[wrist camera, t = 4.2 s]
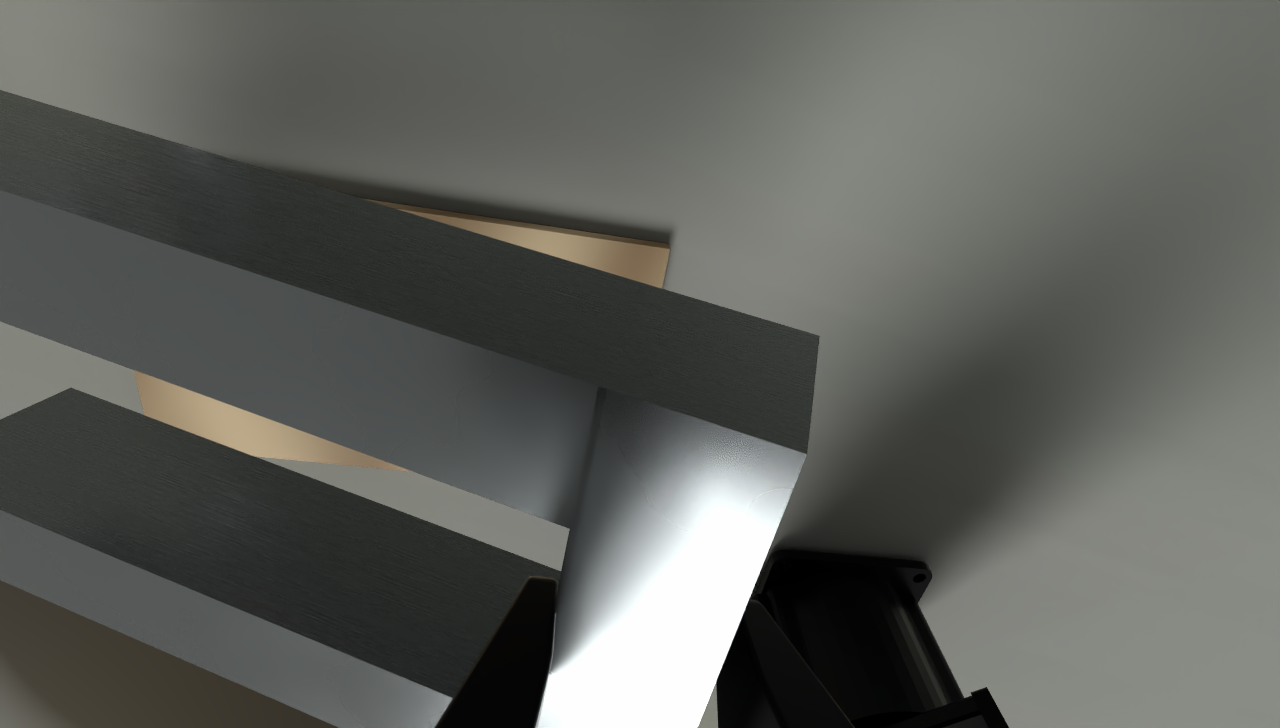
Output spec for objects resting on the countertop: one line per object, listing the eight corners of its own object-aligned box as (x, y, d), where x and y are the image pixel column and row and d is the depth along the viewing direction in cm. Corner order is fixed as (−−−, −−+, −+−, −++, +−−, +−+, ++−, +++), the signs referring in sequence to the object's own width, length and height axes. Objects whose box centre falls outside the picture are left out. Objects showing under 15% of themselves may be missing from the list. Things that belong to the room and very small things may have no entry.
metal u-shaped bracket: (819, 335, 9) (806, 454, 7) (685, 696, 13) (644, 860, 10) (-4, 89, 11) (-259, 105, 9) (89, 462, 15) (-68, 550, 13)
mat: (668, 244, 19) (670, 249, 19) (619, 483, 24) (619, 491, 23) (94, 158, 17) (83, 162, 17) (159, 438, 22) (152, 446, 21)
